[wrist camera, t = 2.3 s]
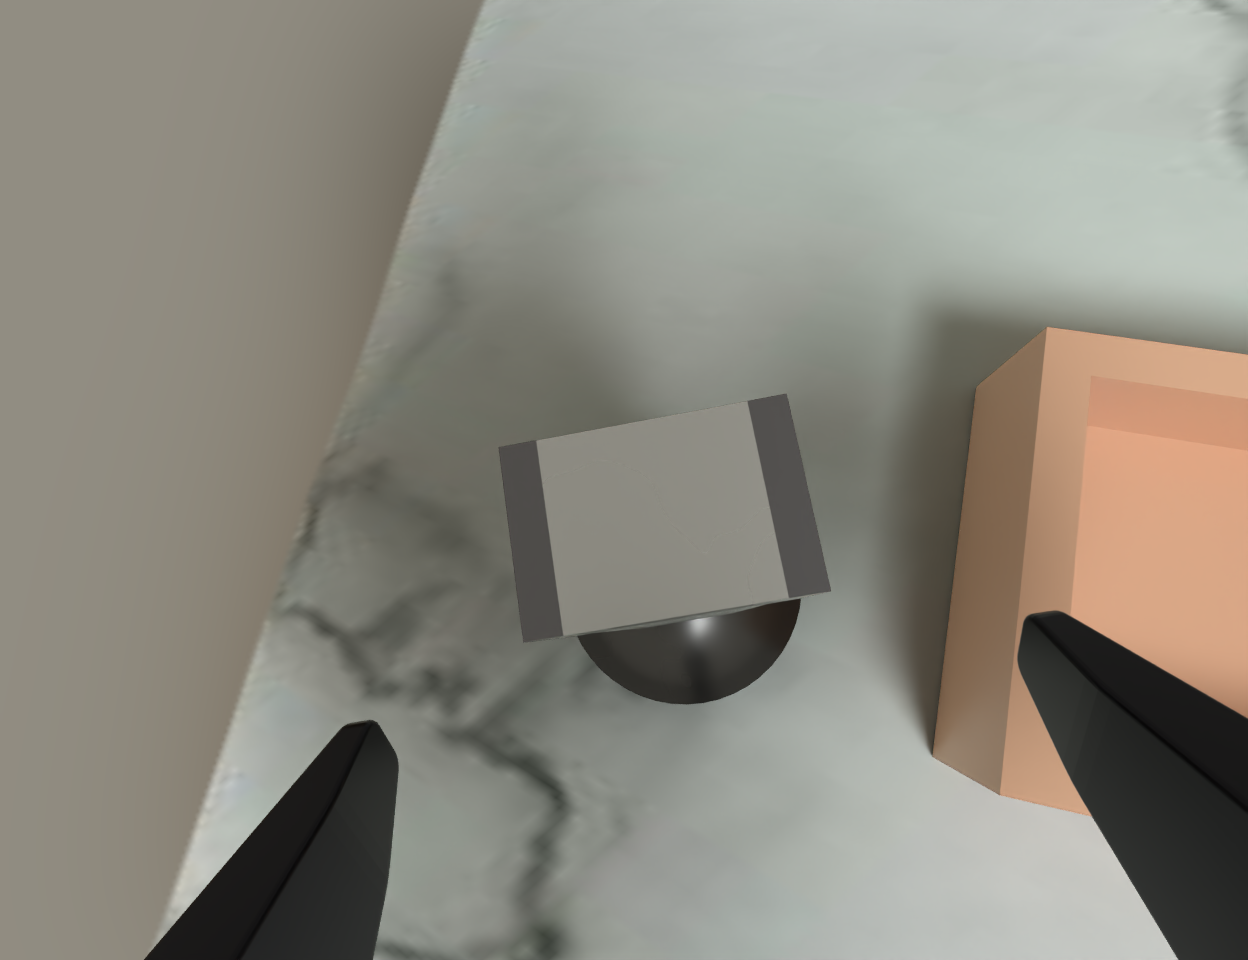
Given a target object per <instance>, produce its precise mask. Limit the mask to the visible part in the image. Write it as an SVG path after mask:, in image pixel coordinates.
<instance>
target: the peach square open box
mask: <svg viewBox="0 0 1248 960" xmlns="http://www.w3.org/2000/svg"><path fill="white" fill-rule="evenodd" d="M1052 610H1058V611H1061V612H1064V613H1066V614H1068V615H1070V616H1072V617H1073V618H1075V619H1077V620H1079V621H1080V622H1082V623H1084V624H1086V625H1087V626H1089V627H1091V628H1093V629H1094V630H1096V631H1098V632H1099V633H1101V634H1103V635H1105V636H1106V637H1108V638H1110V639H1112V640H1113V641H1115V642H1117V643H1119V644H1120V645H1122V646H1124V647H1125V648H1127V649H1129V650H1131V651H1132V652H1134V653H1136V654H1138V655H1139V656H1141V657H1143V658H1145V659H1146V660H1148V661H1150V662H1151V663H1153V664H1155V665H1157V666H1158V667H1160V668H1162V669H1164V670H1165V671H1167V672H1169V673H1171V674H1172V675H1174V676H1176V677H1177V678H1179V679H1181V680H1183V681H1184V682H1186V683H1188V684H1190V685H1191V686H1193V687H1195V688H1197V689H1198V690H1200V691H1202V692H1203V693H1205V694H1207V695H1209V696H1210V697H1212V698H1214V699H1216V700H1217V701H1219V702H1221V703H1223V704H1224V705H1226V706H1228V707H1229V708H1231V709H1233V710H1235V711H1236V712H1238V713H1240V714H1242V715H1243V716H1245V717H1247V718H1248V355H1246V354H1239V353H1232V352H1225V351H1217V350H1210V349H1203V348H1196V347H1189V346H1182V345H1174V344H1167V343H1160V342H1153V341H1146V340H1138V339H1131V338H1124V337H1117V336H1110V335H1103V334H1095V333H1088V332H1081V331H1074V330H1067V329H1059V328H1052V327H1046V328H1045V329H1044V330H1043V331H1041V332H1040V333H1039V334H1038V335H1037V336H1036V337H1034V338H1033V339H1032V340H1031V341H1030V342H1028V343H1027V344H1026V345H1025V346H1024V347H1023V348H1021V349H1020V350H1019V351H1018V352H1017V353H1016V354H1014V355H1013V356H1012V357H1011V358H1010V359H1008V360H1007V361H1006V362H1005V363H1004V364H1003V365H1001V366H1000V367H999V368H998V369H997V370H995V371H994V372H993V373H992V374H991V375H990V376H988V377H987V378H986V379H985V380H984V381H982V382H981V383H980V384H979V385H978V386H977V387H976V393H975V402H974V410H973V419H972V427H971V435H970V444H969V452H968V461H967V469H966V478H965V486H964V494H963V503H962V511H961V520H960V528H959V537H958V545H957V553H956V562H955V570H954V579H953V587H952V595H951V604H950V612H949V621H948V629H947V638H946V646H945V654H944V663H943V671H942V680H941V688H940V696H939V705H938V713H937V722H936V730H935V739H934V747H933V755H932V757H934V758H935V759H937V760H939V761H941V762H942V763H944V764H946V765H948V766H949V767H951V768H953V769H955V770H956V771H958V772H960V773H962V774H963V775H965V776H967V777H969V778H971V779H972V780H974V781H976V782H978V783H979V784H981V785H983V786H985V787H986V788H988V789H990V790H992V791H993V792H995V793H997V794H999V795H1001V796H1006V797H1010V798H1014V799H1019V800H1023V801H1027V802H1032V803H1036V804H1040V805H1044V806H1049V807H1053V808H1057V809H1062V810H1066V811H1070V812H1075V813H1079V814H1083V815H1088V816H1091V814H1090V812H1089V811H1088V809H1087V807H1086V806H1085V804H1084V802H1083V801H1082V799H1081V797H1080V795H1079V794H1078V792H1077V790H1076V788H1075V787H1074V785H1073V783H1072V781H1071V779H1070V777H1069V775H1068V773H1067V771H1066V769H1065V767H1064V765H1063V763H1062V761H1061V759H1060V757H1059V755H1058V753H1057V750H1056V748H1055V746H1054V744H1053V742H1052V740H1051V738H1050V735H1049V733H1048V731H1047V729H1046V727H1045V725H1044V723H1043V720H1042V718H1041V716H1040V714H1039V712H1038V710H1037V708H1036V705H1035V703H1034V701H1033V699H1032V697H1031V695H1030V693H1029V691H1028V688H1027V686H1026V684H1025V682H1024V680H1023V678H1022V675H1021V673H1020V670H1019V667H1018V662H1017V653H1018V648H1019V643H1020V637H1021V632H1022V626H1023V622H1024V619H1025V618H1026V617H1027V616H1028V615H1029V614H1033V613H1039V612H1045V611H1052Z"/></svg>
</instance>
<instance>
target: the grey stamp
mask: <svg viewBox="0 0 1248 960" xmlns="http://www.w3.org/2000/svg"><path fill="white" fill-rule="evenodd" d="M499 453H500V461H501V469H502V477H503V485H504V493H505V501H506V509H507V517H508V524H509V532H510V540H511V548H512V556H513V564H514V572H515V580H516V588H517V596H518V604H519V612H520V619H521V627H522V635H523V643H524V642H533V641H542V640H550V639H559V638H566V637H572V636H578V638H579V640H580V642H581V644H582V646H583V647H584V649H585V650H586V652H587V653H588V655H589V656H590V658H591V659H592V660H593V661H594V662H595V663H596V665H597V666H598V667H599V668H600V669H601V670H602V671H603V672H604V673H605V674H607V675H608V676H609V677H610V678H611V679H612V680H614V681H615V682H617V683H618V684H620V685H621V686H623V687H624V688H626V689H628V690H630V691H632V692H634V693H636V694H638V695H640V696H643V697H646V698H649V699H652V700H655V701H660V702H666V703H671V704H696V703H705V702H709V701H713V700H718V699H721V698H723V697H726V696H729V695H731V694H734V693H736V692H737V691H739V690H741V689H743V688H745V687H747V686H748V685H750V684H751V683H752V682H754V681H755V680H756V679H758V678H759V677H760V676H761V675H762V674H763V673H765V672H766V671H767V670H768V669H769V668H770V667H771V666H772V664H773V663H774V662H775V661H776V659H777V658H778V657H779V655H780V654H781V653H782V651H783V649H784V648H785V646H786V644H787V642H788V641H789V639H790V637H791V634H792V632H793V629H794V627H795V624H796V621H797V617H798V613H799V609H800V601H801V598H804V597H809V596H813V595H817V594H821V593H826V592H830V591H831V588H830V584H829V580H828V575H827V571H826V566H825V562H824V557H823V553H822V548H821V544H820V540H819V535H818V531H817V526H816V522H815V517H814V513H813V509H812V504H811V500H810V495H809V491H808V486H807V482H806V478H805V473H804V469H803V464H802V460H801V455H800V451H799V446H798V442H797V438H796V433H795V429H794V424H793V420H792V415H791V411H790V407H789V402H788V398H787V394H782V395H777V396H772V397H766V398H761V399H755V400H750V401H745V402H739V403H734V404H729V405H723V406H718V407H713V408H707V409H702V410H697V411H691V412H686V413H681V414H675V415H670V416H664V417H659V418H654V419H648V420H643V421H638V422H632V423H627V424H622V425H616V426H611V427H606V428H600V429H595V430H590V431H584V432H579V433H573V434H568V435H563V436H557V437H552V438H547V439H541V440H536V441H531V442H525V443H520V444H515V445H509V446H504V447H499Z"/></svg>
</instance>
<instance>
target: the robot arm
mask: <svg viewBox="0 0 1248 960" xmlns="http://www.w3.org/2000/svg"><path fill="white" fill-rule="evenodd" d="M1017 662H1018V667H1019V670H1020V673H1021V675H1022V678H1023V680H1024V682H1025V684H1026V686H1027V688H1028V691H1029V693H1030V695H1031V697H1032V699H1033V701H1034V703H1035V705H1036V708H1037V710H1038V712H1039V714H1040V716H1041V718H1042V720H1043V723H1044V725H1045V727H1046V729H1047V731H1048V733H1049V735H1050V738H1051V740H1052V742H1053V744H1054V746H1055V748H1056V750H1057V753H1058V755H1059V757H1060V759H1061V761H1062V763H1063V765H1064V767H1065V769H1066V771H1067V773H1068V775H1069V777H1070V779H1071V781H1072V783H1073V785H1074V787H1075V788H1076V790H1077V792H1078V794H1079V795H1080V797H1081V799H1082V801H1083V802H1084V804H1085V806H1086V807H1087V809H1088V811H1089V812H1090V814H1091V816H1092V817H1093V819H1094V821H1095V822H1096V824H1097V826H1098V827H1099V829H1100V830H1101V832H1102V834H1103V835H1104V837H1105V839H1106V840H1107V842H1108V844H1109V845H1110V847H1111V849H1112V850H1113V852H1114V854H1115V855H1116V857H1117V859H1118V860H1119V862H1120V864H1121V865H1122V867H1123V869H1124V870H1125V872H1126V874H1127V875H1128V877H1129V879H1130V880H1131V882H1132V884H1133V885H1134V887H1135V889H1136V890H1137V892H1138V894H1139V895H1140V897H1141V899H1142V900H1143V902H1144V904H1145V905H1146V907H1147V909H1148V910H1149V912H1150V914H1151V915H1152V917H1153V918H1154V920H1155V922H1156V923H1157V925H1158V927H1159V928H1160V930H1161V932H1162V933H1163V935H1164V937H1165V938H1166V940H1167V942H1168V943H1169V945H1170V947H1171V948H1172V950H1173V952H1174V953H1175V955H1176V957H1177V958H1178V960H1248V718H1247V717H1245V716H1243V715H1242V714H1240V713H1238V712H1236V711H1235V710H1233V709H1231V708H1229V707H1228V706H1226V705H1224V704H1223V703H1221V702H1219V701H1217V700H1216V699H1214V698H1212V697H1210V696H1209V695H1207V694H1205V693H1203V692H1202V691H1200V690H1198V689H1197V688H1195V687H1193V686H1191V685H1190V684H1188V683H1186V682H1184V681H1183V680H1181V679H1179V678H1177V677H1176V676H1174V675H1172V674H1171V673H1169V672H1167V671H1165V670H1164V669H1162V668H1160V667H1158V666H1157V665H1155V664H1153V663H1151V662H1150V661H1148V660H1146V659H1145V658H1143V657H1141V656H1139V655H1138V654H1136V653H1134V652H1132V651H1131V650H1129V649H1127V648H1125V647H1124V646H1122V645H1120V644H1119V643H1117V642H1115V641H1113V640H1112V639H1110V638H1108V637H1106V636H1105V635H1103V634H1101V633H1099V632H1098V631H1096V630H1094V629H1093V628H1091V627H1089V626H1087V625H1086V624H1084V623H1082V622H1080V621H1079V620H1077V619H1075V618H1073V617H1072V616H1070V615H1068V614H1066V613H1064V612H1061V611H1058V610H1052V611H1045V612H1039V613H1033V614H1029V615H1028V616H1027V617H1026V618H1025V619H1024V622H1023V626H1022V632H1021V637H1020V643H1019V648H1018V653H1017ZM398 771H399V765H398V758H397V755H396V753H395V751H394V749H393V747H392V746H391V744H390V742H389V741H388V739H387V737H386V736H385V734H384V732H383V731H382V729H381V727H380V726H379V724H378V723H377V722H375V721H373V720H366V721H360V722H354V723H349V724H347V725H345V726H343V727H342V728H341V729H340V730H339V731H338V732H337V734H336V735H335V736H334V737H333V738H332V739H331V741H330V742H329V743H328V744H327V745H326V747H325V748H324V749H323V750H322V751H321V752H320V754H319V755H318V756H317V757H316V758H315V759H314V761H313V762H312V763H311V764H310V765H309V766H308V768H307V769H306V770H305V771H304V772H303V774H302V775H301V776H300V777H299V778H298V779H297V781H296V782H295V783H294V784H293V785H292V786H291V788H290V789H289V790H288V791H287V792H286V793H285V795H284V796H283V797H282V798H281V799H280V801H279V802H278V803H277V804H276V805H275V806H274V808H273V809H272V810H271V811H270V812H269V813H268V815H267V816H266V817H265V818H264V819H263V820H262V822H261V823H260V824H259V825H258V826H257V827H256V829H255V830H254V831H253V832H252V833H251V835H250V836H249V837H248V838H247V839H246V840H245V842H244V843H243V844H242V845H241V846H240V847H239V849H238V850H237V851H236V852H235V853H234V854H233V856H232V857H231V858H230V859H229V860H228V862H227V863H226V864H225V865H224V866H223V867H222V869H221V870H220V871H219V872H218V873H217V874H216V876H215V877H214V878H213V879H212V880H211V881H210V883H209V884H208V885H207V886H206V887H205V889H204V890H203V891H202V892H201V893H200V894H199V896H198V897H197V898H196V899H195V900H194V901H193V903H192V904H191V905H190V906H189V907H188V908H187V910H186V911H185V912H184V913H183V914H182V916H181V917H180V918H179V919H178V920H177V921H176V923H175V924H174V925H173V926H172V927H171V928H170V930H169V931H168V932H167V933H166V934H165V935H164V937H163V938H162V939H161V940H160V941H159V943H158V944H157V945H156V946H155V947H154V948H153V950H152V951H151V952H150V953H149V954H148V955H147V957H146V958H145V959H144V960H373V956H374V951H375V946H376V941H377V936H378V931H379V926H380V921H381V915H382V910H383V905H384V900H385V895H386V889H387V883H388V876H389V868H390V859H391V848H392V837H393V826H394V815H395V804H396V794H397V783H398Z"/></svg>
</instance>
